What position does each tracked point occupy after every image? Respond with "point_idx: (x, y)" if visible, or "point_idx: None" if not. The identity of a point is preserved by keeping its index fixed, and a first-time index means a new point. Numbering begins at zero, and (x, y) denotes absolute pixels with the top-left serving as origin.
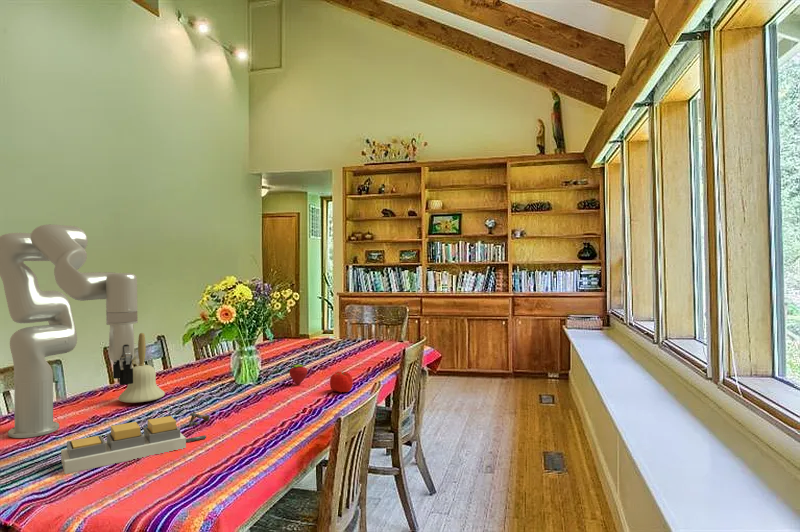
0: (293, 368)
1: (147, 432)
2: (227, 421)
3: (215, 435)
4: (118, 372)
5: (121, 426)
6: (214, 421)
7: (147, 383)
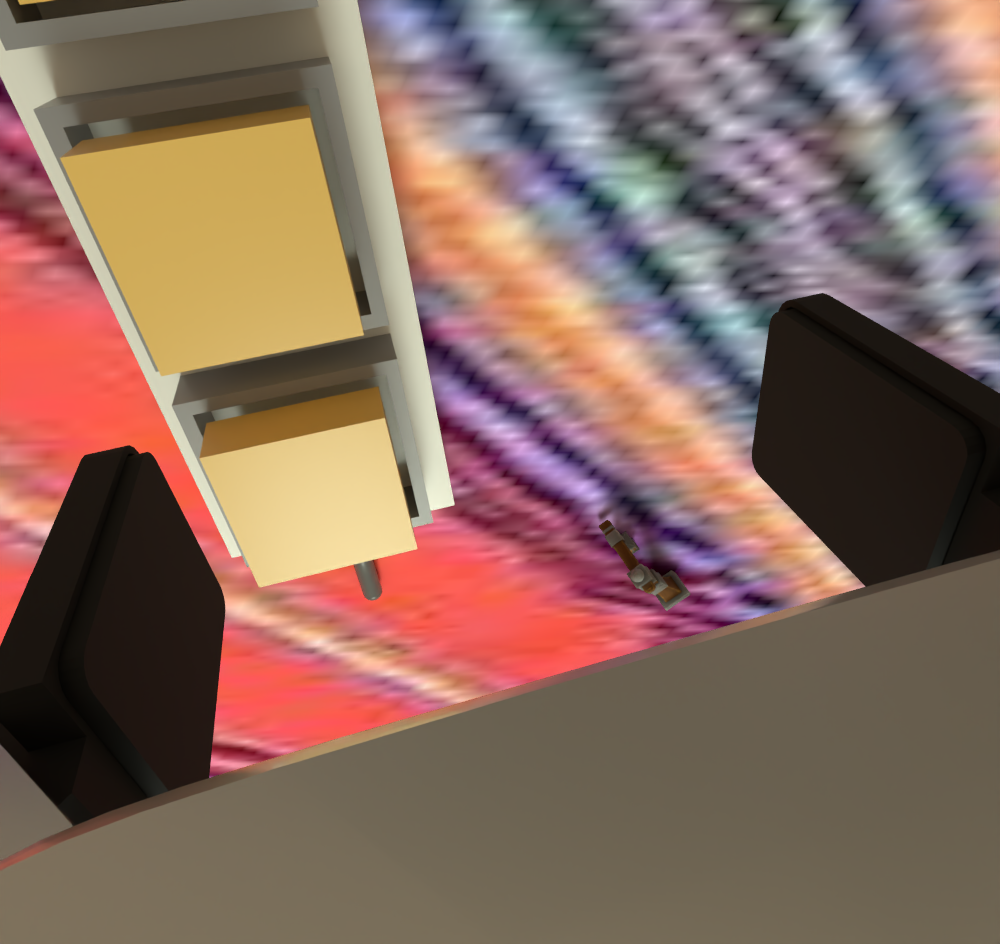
0: None
1: (256, 388)
2: (591, 652)
3: (404, 621)
4: (826, 419)
5: (250, 221)
6: (627, 608)
7: None
